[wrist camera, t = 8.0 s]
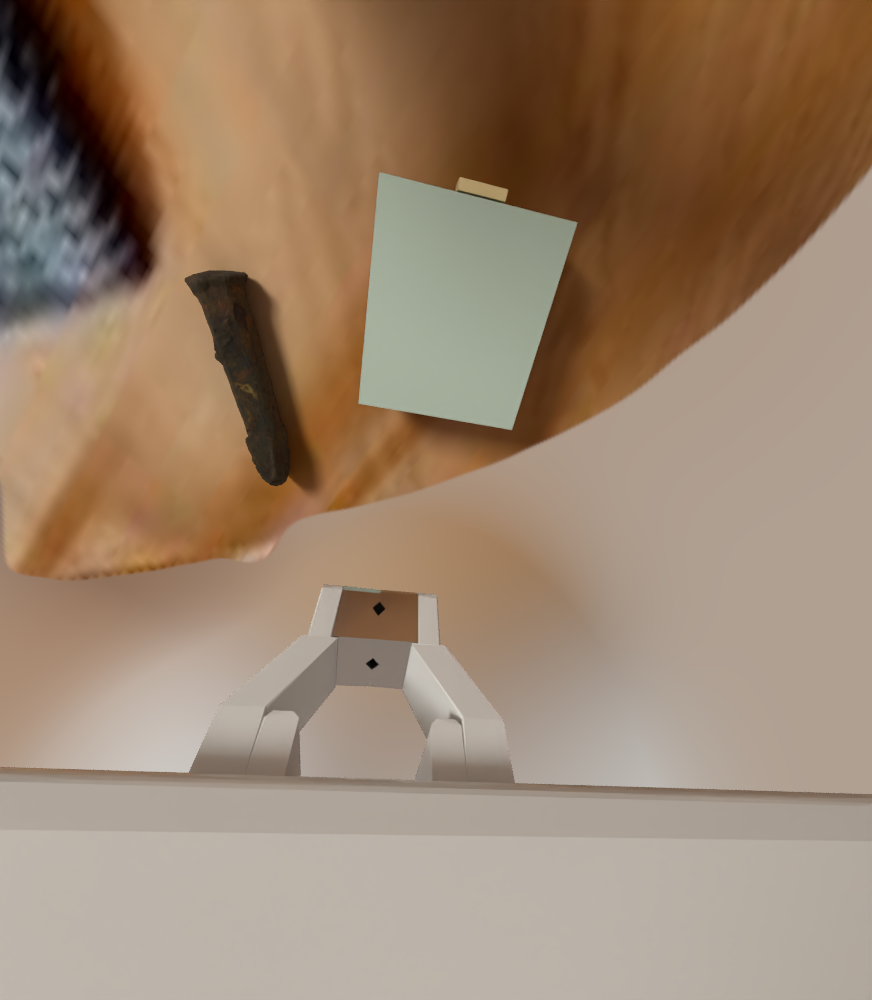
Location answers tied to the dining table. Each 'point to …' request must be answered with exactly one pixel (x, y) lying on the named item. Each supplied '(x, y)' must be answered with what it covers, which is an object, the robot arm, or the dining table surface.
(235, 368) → the dark brown rough bar
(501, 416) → the lid
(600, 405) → the dining table surface
